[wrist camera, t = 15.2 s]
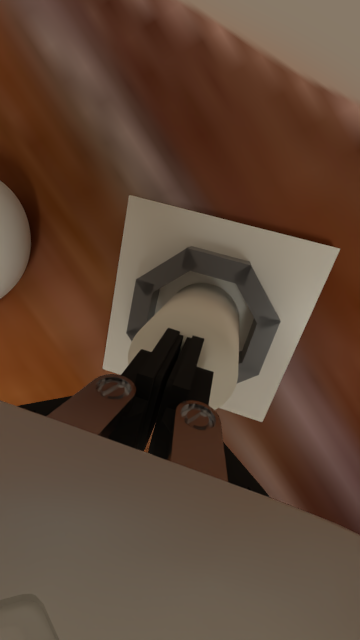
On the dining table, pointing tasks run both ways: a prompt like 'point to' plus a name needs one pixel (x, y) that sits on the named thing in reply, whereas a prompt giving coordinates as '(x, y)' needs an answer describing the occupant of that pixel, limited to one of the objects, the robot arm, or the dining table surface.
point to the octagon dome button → (227, 273)
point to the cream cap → (200, 333)
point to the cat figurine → (12, 240)
